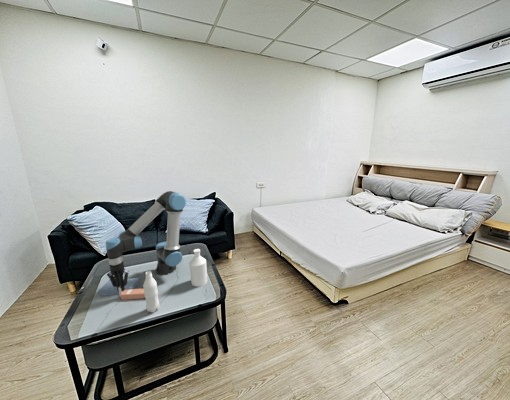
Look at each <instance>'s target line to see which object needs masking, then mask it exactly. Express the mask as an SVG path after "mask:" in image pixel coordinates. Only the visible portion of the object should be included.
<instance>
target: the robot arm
mask: <svg viewBox="0 0 510 400" xmlns="http://www.w3.org/2000/svg"><path fill="white" fill-rule="evenodd" d="M186 204H187V200H186V197H185V195H184V194H182V193H180V192H176V191H170V190H169V191H165V192H163V193H162V194H161V195H160V196H159V197H158V198H156V200H154V204H152V205H151V206H150V207H149V208H148V209H147V210H146V211H145V212H144V213H143V214H142V215H141V216H140V217H138V219H137V220H136V221H134V222H133V224H131V226H129V228H127V229H126V230H125V231H122V232H120V233H119V235H118V237H113V238H109V239H108V240H106V241H105V248H106V249H105V250H106V254H107V260H108V264H109V270H110V271H108V273H107V274H106V276H107V277H108V279H109V280H110V281H111V283H112V285H113V287H117V291H118V292H119V294H118V295H119V297H120V298H121V294H122V293H123V291H124V290H125V288H124V286H125V285H126V284H127V280H128V279H129V278H128V277H129V273H130V270H126V268H125V264H124V259H123V258H124V257H123V253H125V252H128V251H131V250H135V249H139V248H140V247H142V246H143V240H142V237H141V236H140V235H139V234H140V233H141V232H142V231H143V230H144V229H145V228H146V227H147V226H148V225H149V224H150V223H151V222H153V220H154V219H155V218H156V217H157V216H159V215H160V214H161V213H162V212H163V211H165V212H166V213H167V225H166V241H162V242H159V243H156V245H155V252H156V253H155V254H156V259H157V264H156V268H155V272H156V274H157V273H158V274H157V275H160V274H165V275H169V274H172V273H174V272H175V271H176V270H177V266H178V265H179V264H180V263H181V262H182V260H183V254H182V252H181V245H180V244H179V240H180V223H181V214H182V213H183V212H184V208H185V207H186V206H187V205H186ZM174 270H175V271H174ZM173 271H174V272H173ZM171 272H172V273H171ZM168 273H169V274H168Z"/></svg>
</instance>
